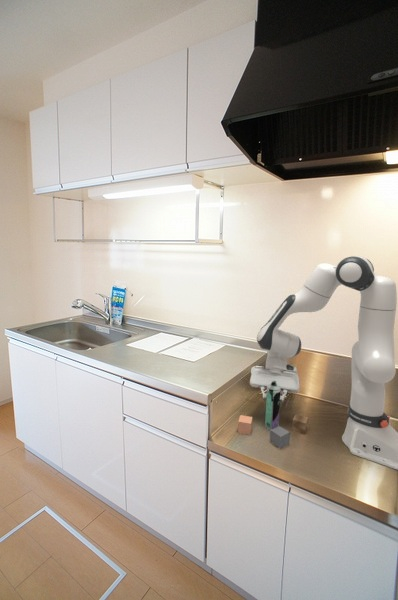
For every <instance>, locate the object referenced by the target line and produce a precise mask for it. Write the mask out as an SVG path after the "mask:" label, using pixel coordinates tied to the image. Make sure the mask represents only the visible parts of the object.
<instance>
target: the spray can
mask: <svg viewBox="0 0 398 600" xmlns="http://www.w3.org/2000/svg"><path fill="white" fill-rule="evenodd" d="M281 392H282V391H281V389H280V386H278V385H277V384H276V381H272V383H271V384H270V385H268V386H267V389H266V394H267V395H266V399H265V401H266V402H265V415H264V416H265V417H264V418H265V421H264V427H265V429H266V430H268V431H271V430H272V429H274V428H276V427H278V426H280V410H281V409H280V406H281V401H280V396H281Z"/></svg>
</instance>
